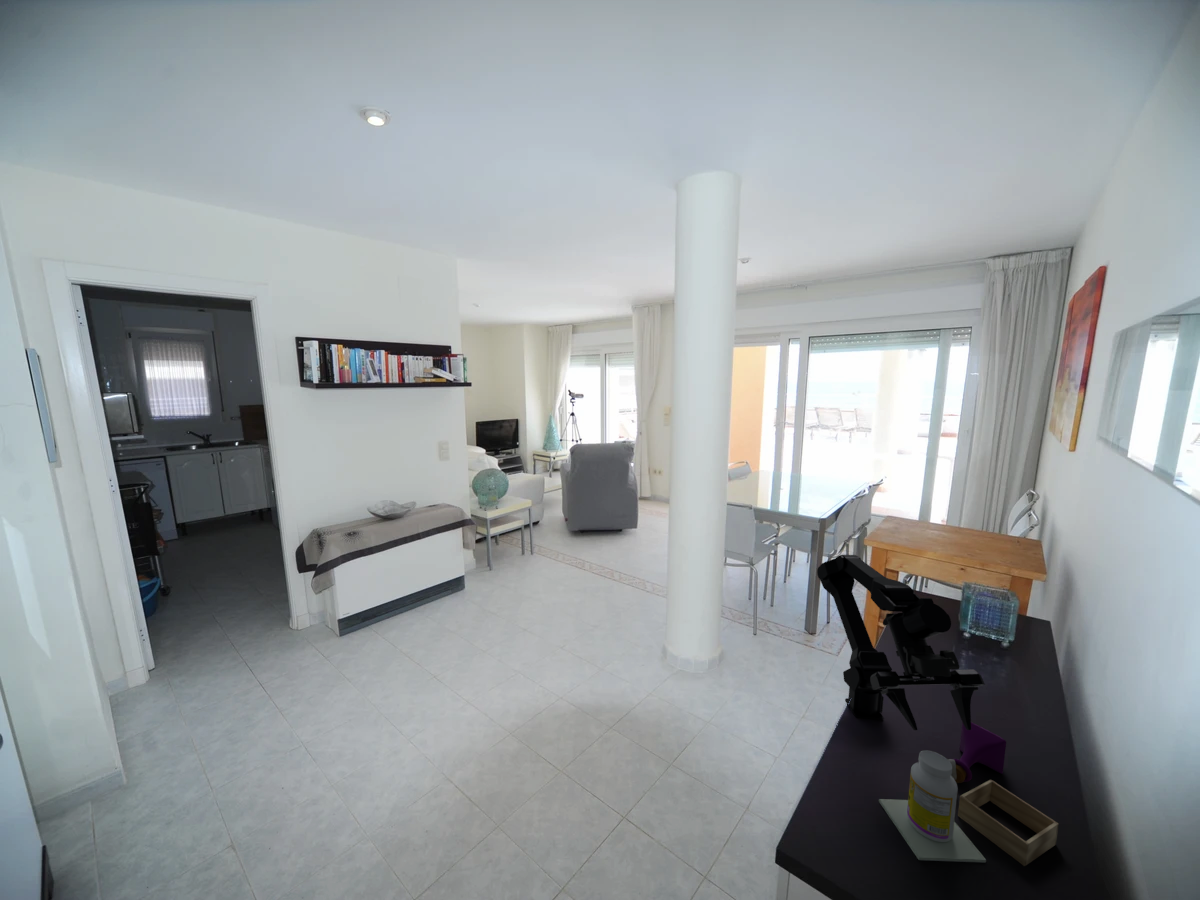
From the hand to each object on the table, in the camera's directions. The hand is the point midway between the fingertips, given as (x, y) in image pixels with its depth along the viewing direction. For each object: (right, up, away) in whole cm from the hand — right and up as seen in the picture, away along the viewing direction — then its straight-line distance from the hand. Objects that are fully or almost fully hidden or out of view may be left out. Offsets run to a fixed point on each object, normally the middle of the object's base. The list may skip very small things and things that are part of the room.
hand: (942, 730), depth 86 cm
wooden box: (+7, -14, -6) cm, 17 cm away
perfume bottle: (+18, -9, +11) cm, 23 cm away
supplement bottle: (-7, -13, -6) cm, 17 cm away
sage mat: (-7, -14, -6) cm, 17 cm away
